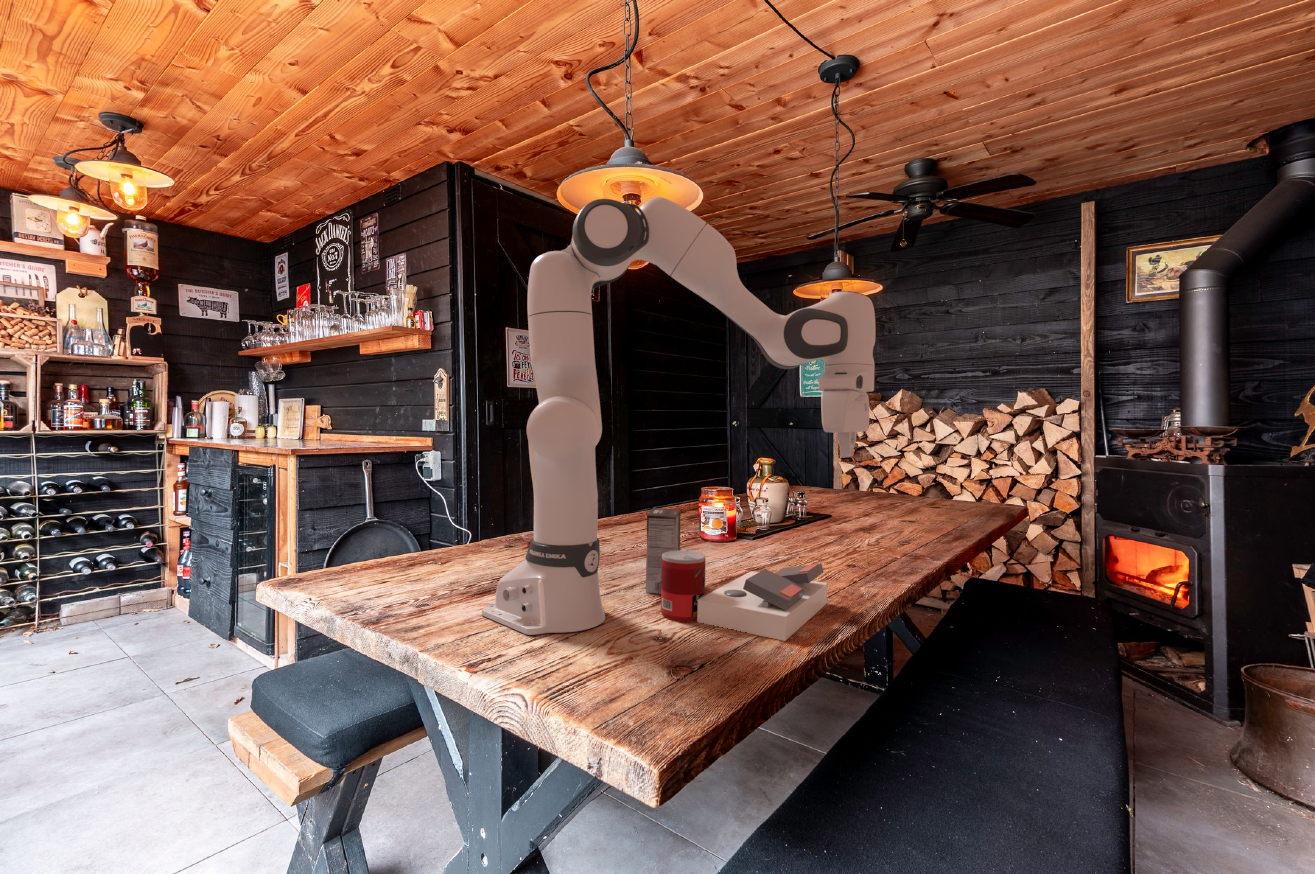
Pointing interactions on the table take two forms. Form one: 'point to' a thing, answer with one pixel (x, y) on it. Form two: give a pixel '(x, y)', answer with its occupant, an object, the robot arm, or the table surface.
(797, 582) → the rocker far
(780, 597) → the rocker near
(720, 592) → the beige flat block
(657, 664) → the table surface
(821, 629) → the table surface
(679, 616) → the canned food
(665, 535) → the coffee box
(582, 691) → the table surface
